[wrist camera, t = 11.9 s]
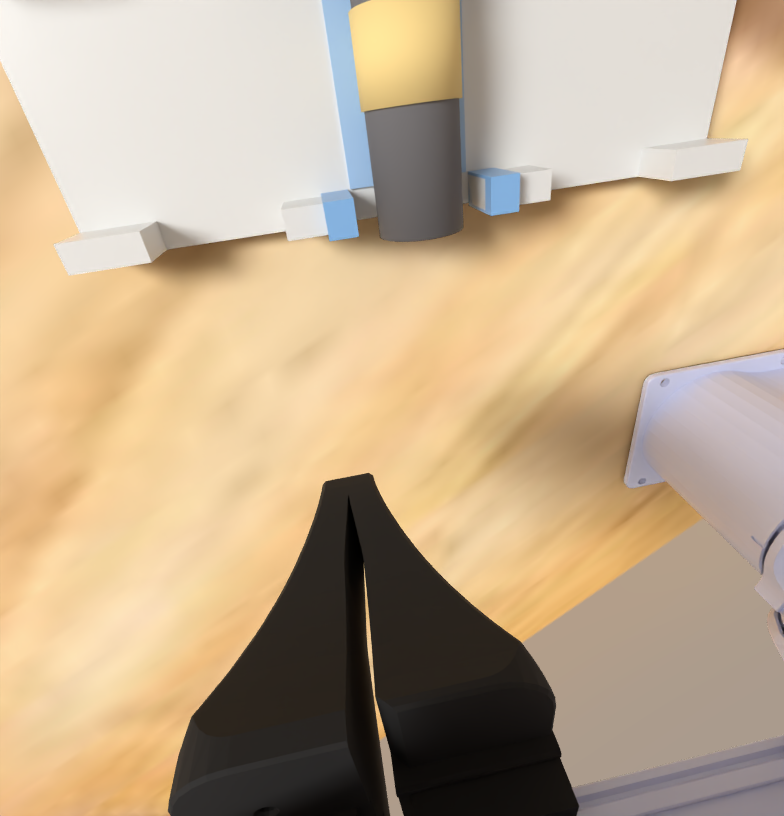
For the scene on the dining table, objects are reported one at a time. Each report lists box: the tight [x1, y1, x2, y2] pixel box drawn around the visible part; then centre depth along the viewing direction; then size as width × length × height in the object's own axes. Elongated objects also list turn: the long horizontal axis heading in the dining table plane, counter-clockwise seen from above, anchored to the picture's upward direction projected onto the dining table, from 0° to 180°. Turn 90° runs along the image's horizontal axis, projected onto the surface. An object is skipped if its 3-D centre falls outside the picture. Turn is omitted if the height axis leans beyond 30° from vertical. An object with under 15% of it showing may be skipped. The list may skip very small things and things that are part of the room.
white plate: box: [0, 0, 748, 275], centre depth 15 cm, size 24×9×4 cm, turn 97°
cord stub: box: [348, 0, 463, 242], centre depth 14 cm, size 10×3×3 cm, turn 7°
